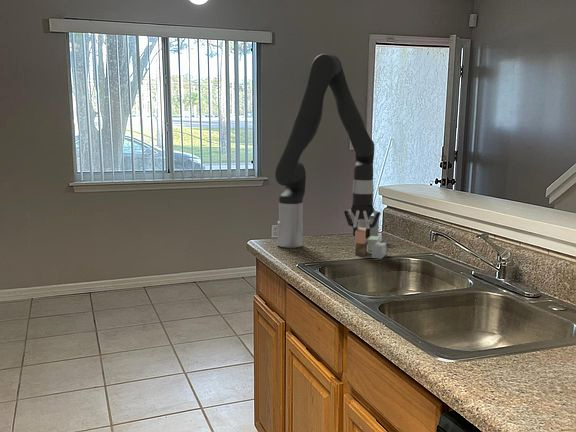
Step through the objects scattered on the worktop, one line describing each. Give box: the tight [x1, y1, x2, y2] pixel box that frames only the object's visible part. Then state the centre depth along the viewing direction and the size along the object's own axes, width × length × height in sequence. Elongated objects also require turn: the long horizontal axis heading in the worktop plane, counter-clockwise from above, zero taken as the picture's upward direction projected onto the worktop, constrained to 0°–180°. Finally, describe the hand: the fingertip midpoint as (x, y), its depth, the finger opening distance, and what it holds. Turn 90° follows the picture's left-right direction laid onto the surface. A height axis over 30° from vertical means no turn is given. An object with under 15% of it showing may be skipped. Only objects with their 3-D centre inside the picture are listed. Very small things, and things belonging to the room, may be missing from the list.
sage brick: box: [367, 235, 381, 252], centre depth 215 cm, size 4×7×4 cm, turn 162°
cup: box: [357, 215, 380, 244], centre depth 230 cm, size 8×8×10 cm
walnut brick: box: [354, 241, 368, 257], centre depth 208 cm, size 4×7×4 cm, turn 166°
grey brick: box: [371, 241, 387, 260], centre depth 204 cm, size 4×7×4 cm, turn 157°
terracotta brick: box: [354, 227, 368, 244], centre depth 207 cm, size 4×7×4 cm, turn 161°
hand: (361, 237), depth 207 cm, fingers closed on terracotta brick, 3 cm apart
